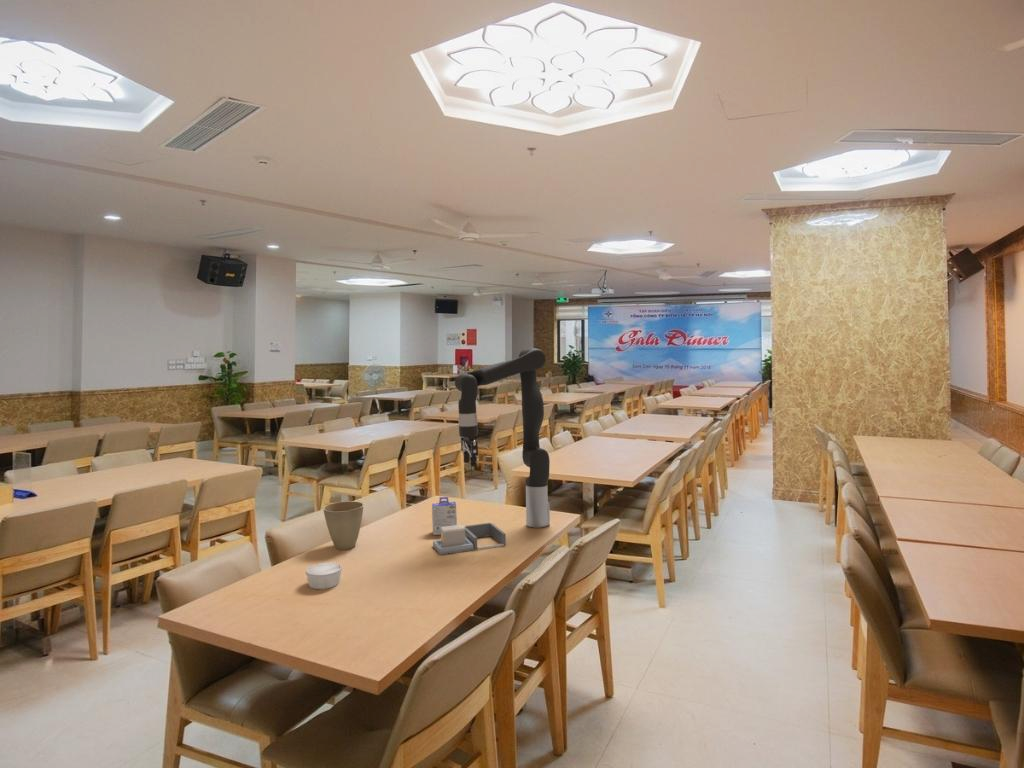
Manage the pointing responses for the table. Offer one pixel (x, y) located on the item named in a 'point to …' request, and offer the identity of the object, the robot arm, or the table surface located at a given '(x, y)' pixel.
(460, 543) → the tall cream box
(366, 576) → the table surface
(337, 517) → the plant pot
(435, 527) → the ink cartridge box
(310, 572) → the ramekin
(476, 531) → the frame
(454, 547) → the tray
